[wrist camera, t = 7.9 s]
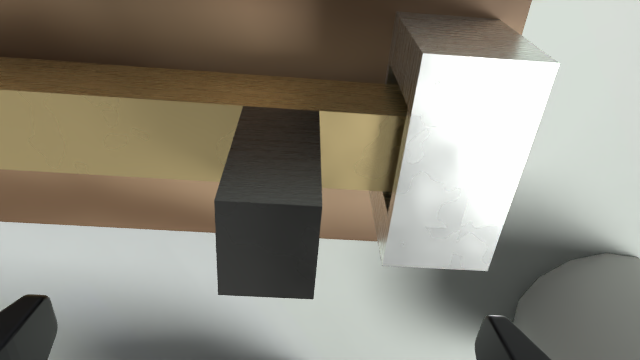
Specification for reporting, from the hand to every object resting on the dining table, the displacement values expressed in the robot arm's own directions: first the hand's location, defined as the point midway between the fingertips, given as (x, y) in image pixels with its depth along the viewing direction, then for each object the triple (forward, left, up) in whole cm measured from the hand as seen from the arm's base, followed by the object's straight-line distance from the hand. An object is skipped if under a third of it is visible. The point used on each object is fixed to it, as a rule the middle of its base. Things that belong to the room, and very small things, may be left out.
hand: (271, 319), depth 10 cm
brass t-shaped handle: (0, +5, -11) cm, 12 cm away
